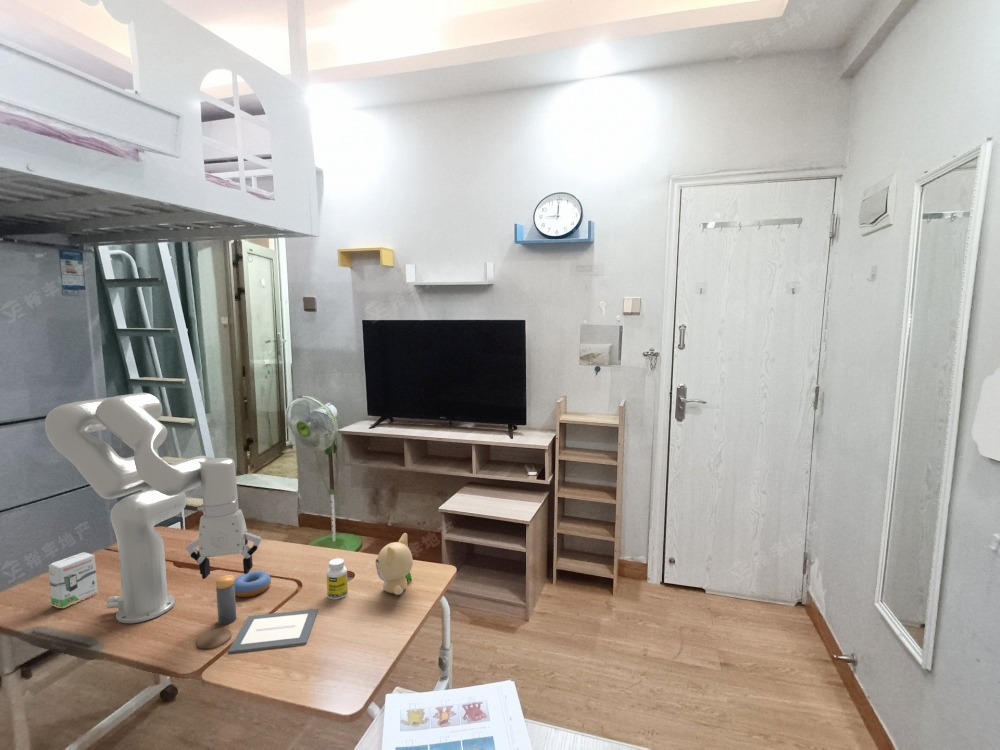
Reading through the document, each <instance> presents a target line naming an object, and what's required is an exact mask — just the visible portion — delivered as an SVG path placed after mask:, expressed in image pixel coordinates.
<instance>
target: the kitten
mask: <svg viewBox="0 0 1000 750" xmlns="http://www.w3.org/2000/svg"><path fill="white" fill-rule="evenodd" d="M408 544H409V543H408V533H406V532H404V533H402V535H401V537H400V538H399V539H398V541H395V542H390V543H388V544H386V545H385V546H384V547H382V549H381V550H380V551H379V552H378V555H377V558H376V559H375V567H376V568H375V569H376V574H377V577H378V578H379V579H380V580H382V581H383V585H382V589H383V591H385V592H387V593H389V594H394V595H396V596H399V595H401V594H403V592H404V590H405V589H406V588H407V586H408V581H407V580H409V581H411V580H412V578H413V577H412V575H411V570H412V568H413V565H414V564H413V563H414V560H413V554H412V551H411V550H410V548H409V545H408ZM406 578H407V579H406ZM410 579H411V580H410Z"/></svg>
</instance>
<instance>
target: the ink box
mask: <svg viewBox="0 0 1000 750" xmlns="http://www.w3.org/2000/svg"><path fill="white" fill-rule="evenodd" d="M95 557H96V556H95V555H94V554H91V553H89V552H86V551H85V552H80V553H78V554H74V555H71V556H68V557H66V558H63V559H61V560H57V561H54V562H52V563H50V564H49V565H48V577H49V589H50V590H49V591H50V603H51V604H53V605H56V606H59V607H63V606H66V605H68V604H70V603H72V602H74V601H77V600H79V599H81V598H84V597H86V596H89V595H91V594H94V593H95V592H97V593H98V584H97V583H98V581H97V570H96V567H97V566H96V558H95Z"/></svg>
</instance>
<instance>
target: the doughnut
mask: <svg viewBox="0 0 1000 750" xmlns="http://www.w3.org/2000/svg"><path fill="white" fill-rule="evenodd" d="M271 580H272V579H271V575H270V574H269V572H266V571H263V570H253V571H249V572H248V574H244V573H242V574H241V575H238V576H237V577H236V578H234V582H235V583H234V586H235V597H239V598H249V597H255V596H257V595H259V594H262V593H263V592H265V591H266V590H267V589H269V587H270V585H271Z"/></svg>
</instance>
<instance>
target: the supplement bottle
mask: <svg viewBox="0 0 1000 750" xmlns="http://www.w3.org/2000/svg"><path fill="white" fill-rule="evenodd" d="M328 567H329V568H328V569H327V570H326V595H327V598H328V599H329V600H339V599H340V598H341V599H343V598H344V597H346V596H347V595H348V588H349V587H348V569H347V567H346V566H345V559H343V558H342V557H341V558H339V557H336V558H333V559H331V560H330V561H329V562H328Z"/></svg>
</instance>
